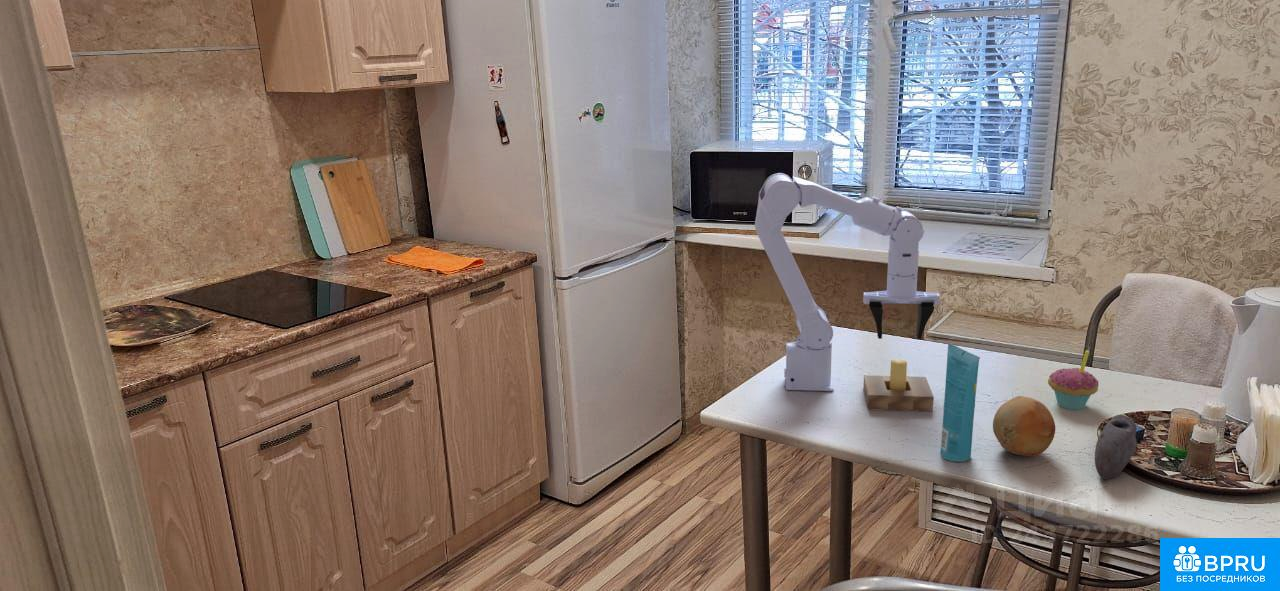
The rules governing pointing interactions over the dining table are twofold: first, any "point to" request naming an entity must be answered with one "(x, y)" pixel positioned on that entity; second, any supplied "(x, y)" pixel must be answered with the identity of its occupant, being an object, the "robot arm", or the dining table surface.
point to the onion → (1024, 426)
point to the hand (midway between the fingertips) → (899, 337)
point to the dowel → (898, 374)
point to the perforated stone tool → (1115, 446)
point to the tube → (959, 404)
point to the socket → (898, 394)
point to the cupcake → (1073, 386)
